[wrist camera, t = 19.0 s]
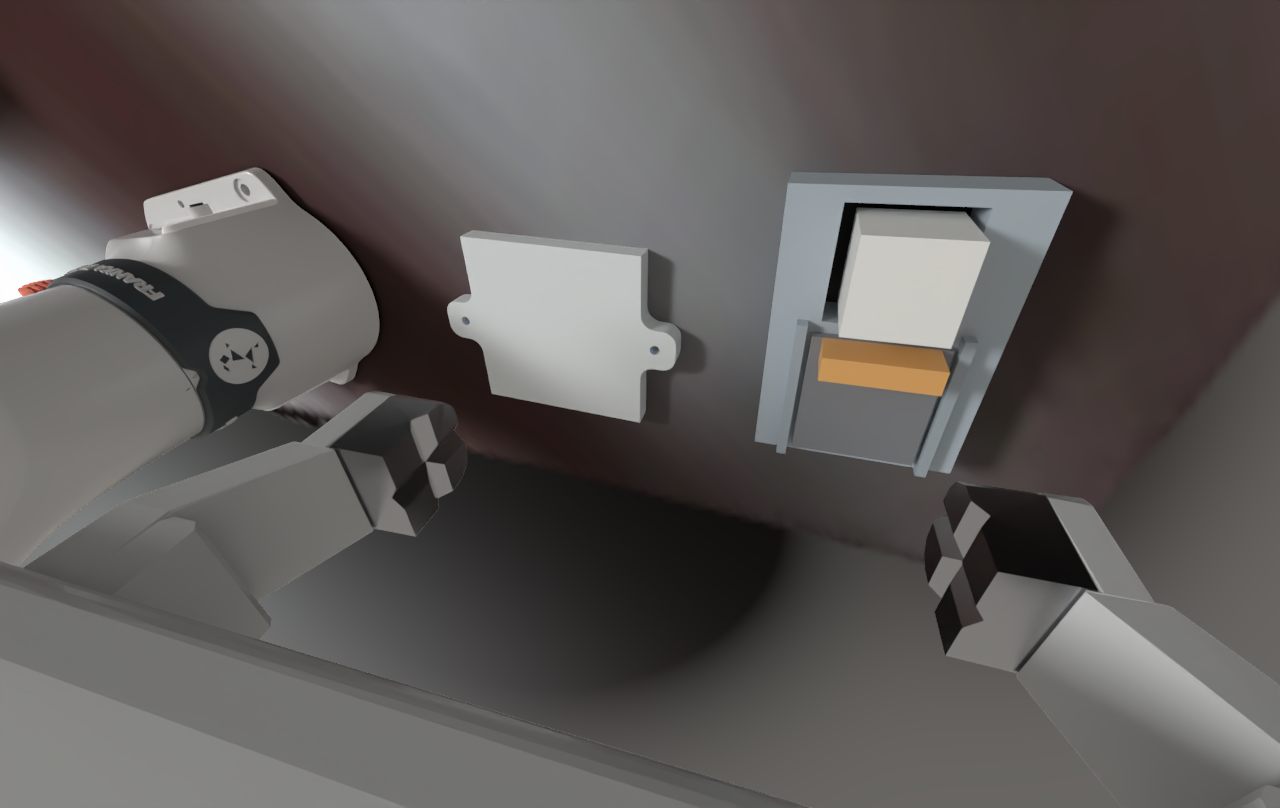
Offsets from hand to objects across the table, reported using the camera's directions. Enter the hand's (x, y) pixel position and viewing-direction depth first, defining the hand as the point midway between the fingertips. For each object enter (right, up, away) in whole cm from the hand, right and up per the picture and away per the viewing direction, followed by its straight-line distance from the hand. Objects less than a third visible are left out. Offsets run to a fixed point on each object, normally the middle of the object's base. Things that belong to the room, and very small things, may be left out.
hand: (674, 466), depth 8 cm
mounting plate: (-6, +7, +29) cm, 31 cm away
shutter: (+13, +1, +22) cm, 25 cm away
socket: (+14, +6, +22) cm, 27 cm away
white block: (+14, +10, +19) cm, 26 cm away
